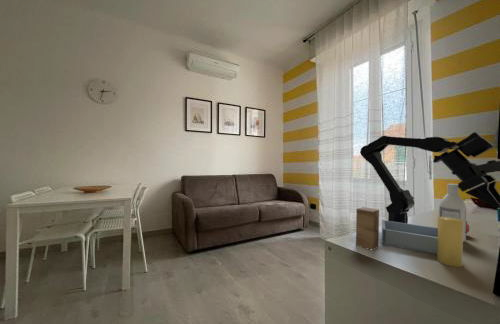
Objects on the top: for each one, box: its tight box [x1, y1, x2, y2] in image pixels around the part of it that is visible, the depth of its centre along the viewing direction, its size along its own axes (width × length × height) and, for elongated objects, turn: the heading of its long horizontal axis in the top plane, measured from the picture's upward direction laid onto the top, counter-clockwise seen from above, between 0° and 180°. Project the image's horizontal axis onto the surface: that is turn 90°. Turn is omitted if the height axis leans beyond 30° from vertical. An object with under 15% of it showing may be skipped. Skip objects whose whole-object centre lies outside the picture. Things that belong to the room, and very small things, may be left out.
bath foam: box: [438, 183, 467, 243], centre depth 75 cm, size 7×7×20 cm
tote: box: [381, 219, 438, 255], centre depth 70 cm, size 18×14×5 cm
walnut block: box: [355, 206, 380, 251], centre depth 68 cm, size 5×5×12 cm
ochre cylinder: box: [436, 216, 464, 268], centre depth 57 cm, size 5×5×12 cm
